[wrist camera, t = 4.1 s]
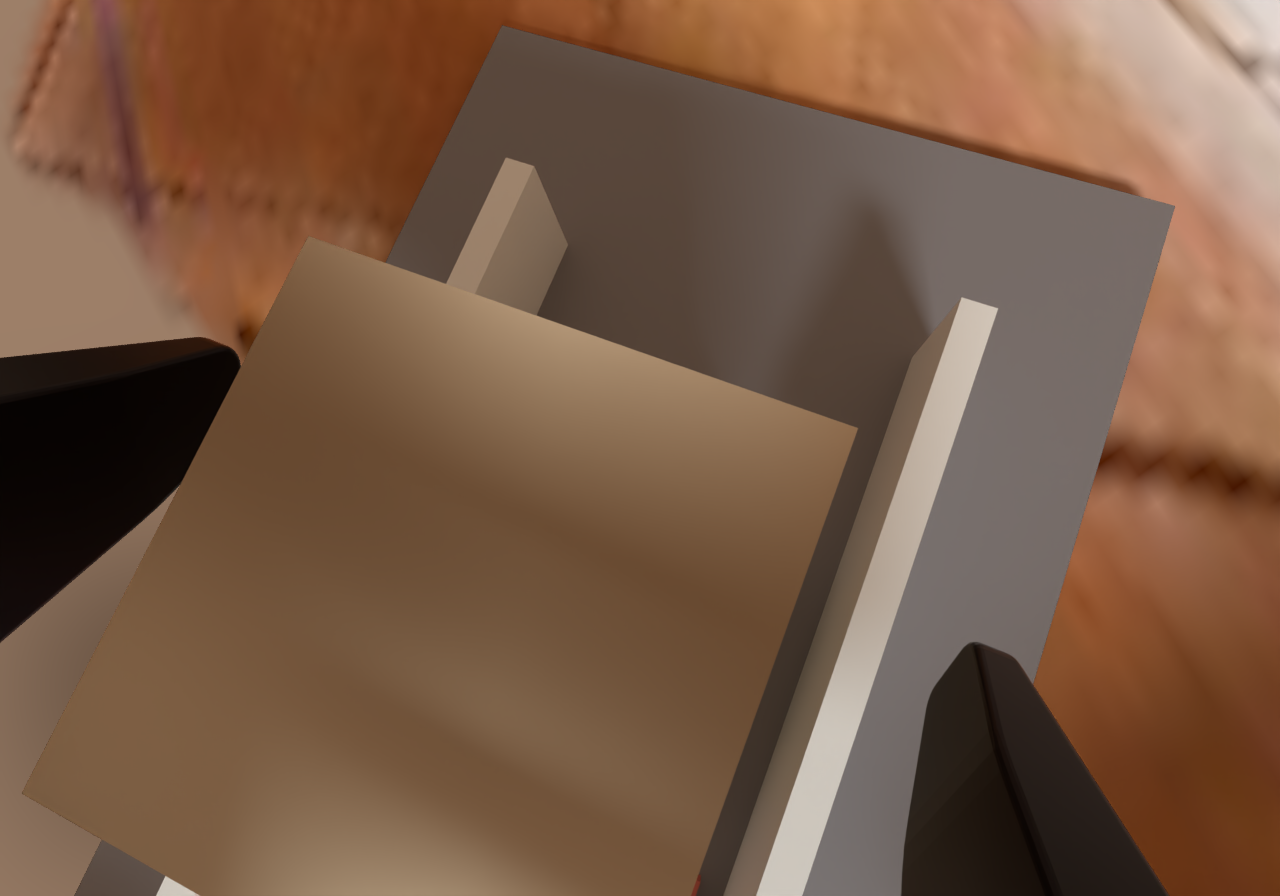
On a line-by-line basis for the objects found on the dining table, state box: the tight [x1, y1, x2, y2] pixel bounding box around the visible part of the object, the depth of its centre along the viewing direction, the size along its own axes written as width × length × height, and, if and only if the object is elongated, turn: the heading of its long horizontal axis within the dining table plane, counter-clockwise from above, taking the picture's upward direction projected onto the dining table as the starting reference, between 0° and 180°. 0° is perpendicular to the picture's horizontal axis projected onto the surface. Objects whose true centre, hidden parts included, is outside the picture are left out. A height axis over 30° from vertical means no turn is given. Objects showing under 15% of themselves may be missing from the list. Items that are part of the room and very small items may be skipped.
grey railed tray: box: [74, 25, 1175, 896], centre depth 13 cm, size 26×16×4 cm, turn 158°
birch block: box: [22, 236, 858, 896], centre depth 10 cm, size 5×5×9 cm
